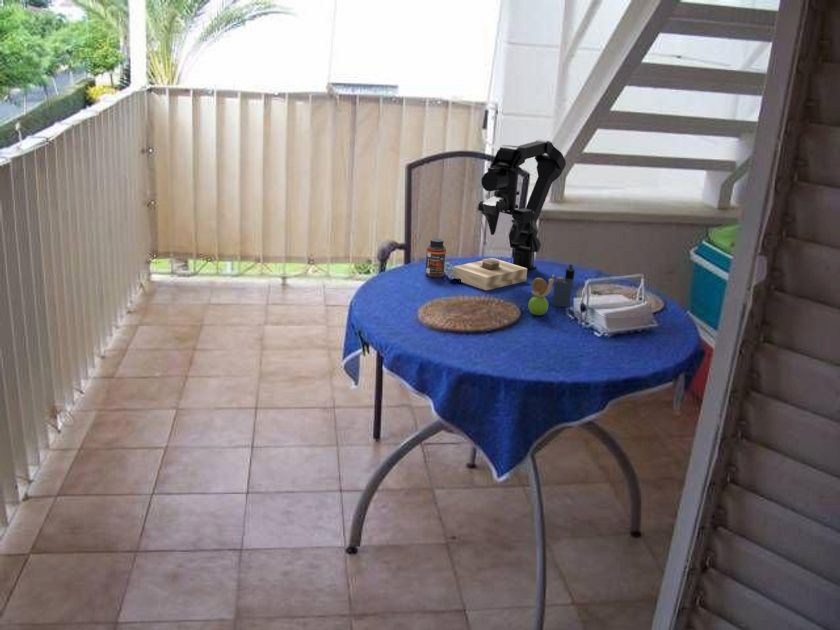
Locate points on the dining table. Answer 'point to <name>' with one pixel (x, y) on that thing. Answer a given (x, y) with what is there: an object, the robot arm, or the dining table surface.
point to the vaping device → (563, 288)
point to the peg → (490, 264)
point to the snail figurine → (540, 296)
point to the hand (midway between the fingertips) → (503, 237)
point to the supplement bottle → (435, 258)
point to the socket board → (490, 275)
